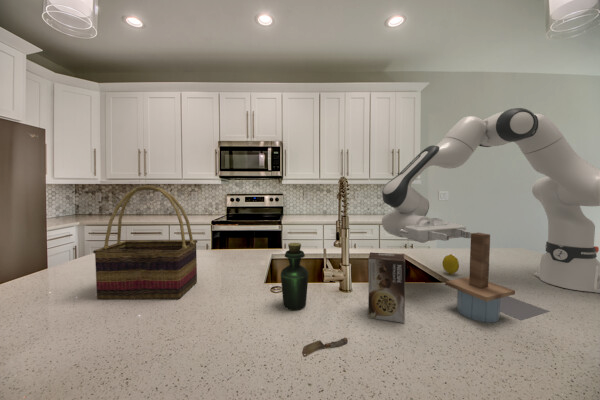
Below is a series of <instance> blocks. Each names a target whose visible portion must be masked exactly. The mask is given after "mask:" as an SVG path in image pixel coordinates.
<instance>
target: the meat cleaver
mask: <svg viewBox="0 0 600 400" xmlns="http://www.w3.org/2000/svg"><path fill="white" fill-rule="evenodd" d="M348 340H349V339H348V338H347V337H343V338H341V339H339V340H335V341H331V342H328V343H323V342H322V341H321V340H319V339H318V340H315V341H313V342H310V343H309V344H306V345H304V346H303V348H302V350H301V355H302V357H303V358H306V357H308V356H310V355H312V354H314V353H315V352H317V351H321V350H327V349H333V348H339V347H342V346H344V345H346V344H348Z"/></svg>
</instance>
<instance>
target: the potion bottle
mask: <svg viewBox="0 0 600 400" xmlns="http://www.w3.org/2000/svg"><path fill="white" fill-rule="evenodd" d="M287 247H288V250H286V251H285V253H284V257H285V258H287V261H288V263H289V265H287V266H286V267H284V268H283V269H282V270H281V272H280V282H281V292H282V293H281V294H282V305H283V306H284V308H285V309H287V310H290V311H299V310H302V309H304V308H305V307H306V306H307V296H308V295H307V294H308V283H309V274H310V273H309V271H308V269H307V268H306V267H304V266H302V265H301V261H302V259H303V258H305V256H306V255H305V251H303V250H301V247H302V243H301V242H290V243H288V244H287Z"/></svg>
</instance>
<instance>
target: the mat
mask: <svg viewBox="0 0 600 400" xmlns="http://www.w3.org/2000/svg"><path fill="white" fill-rule="evenodd" d="M550 312H551V311H550V310H547V309H545V308H543V307H540V306H536V305H533V304H531V303H529V302H525V301H522V300H520V299H517V298H513V297H511V296H507V297H503V298H501V302H500V313H502V314H504V315H507V316H508V317H511V318H514V319H516V320H518V321H524V320H527V319H530V318H533V317H536V316H540V315H543V314H547V313H550Z"/></svg>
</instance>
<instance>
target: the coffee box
mask: <svg viewBox="0 0 600 400" xmlns="http://www.w3.org/2000/svg"><path fill="white" fill-rule="evenodd" d="M367 261H368V298H367V299H368V303H367V305H368V311H367V312H368V314H367V317H368V318H369V319H376V320H382V321H389V322H393V323H394V322H395V323H402V324H405V322H406V321H405V320H406V319H405V316H406V313H405V308H406V304H405V303H406V298H405V296H406V291H405V290H406V287H405V286H406V259H405V256H404V254H397V253H386V252H385V253H384V252H369V254H368V260H367Z"/></svg>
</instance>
